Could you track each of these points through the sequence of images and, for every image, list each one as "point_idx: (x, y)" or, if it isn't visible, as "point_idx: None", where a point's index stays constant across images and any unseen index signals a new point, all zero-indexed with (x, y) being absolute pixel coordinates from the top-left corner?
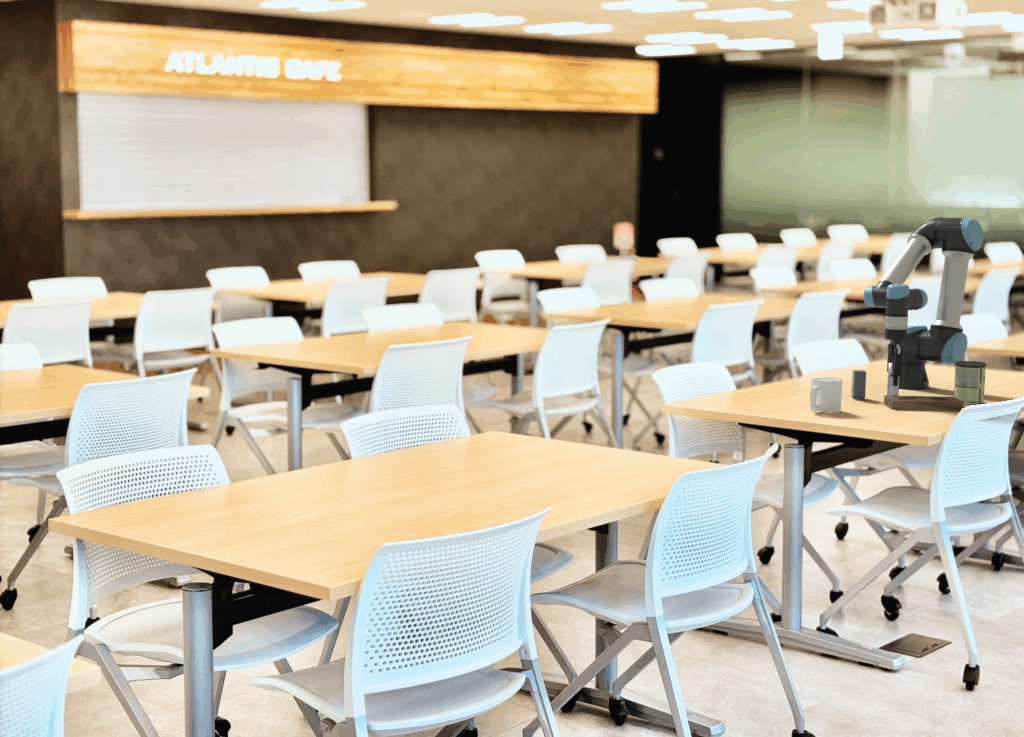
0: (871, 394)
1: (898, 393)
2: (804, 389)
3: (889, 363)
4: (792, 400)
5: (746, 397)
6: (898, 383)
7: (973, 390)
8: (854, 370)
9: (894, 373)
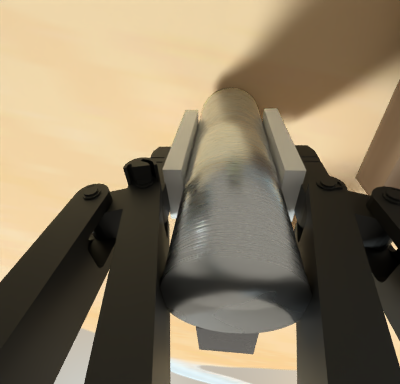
0: (101, 176)
1: (245, 102)
2: (96, 296)
3: (253, 332)
4: (269, 331)
5: (238, 359)
6: (290, 143)
7: None
8: (210, 348)
9: (385, 247)
